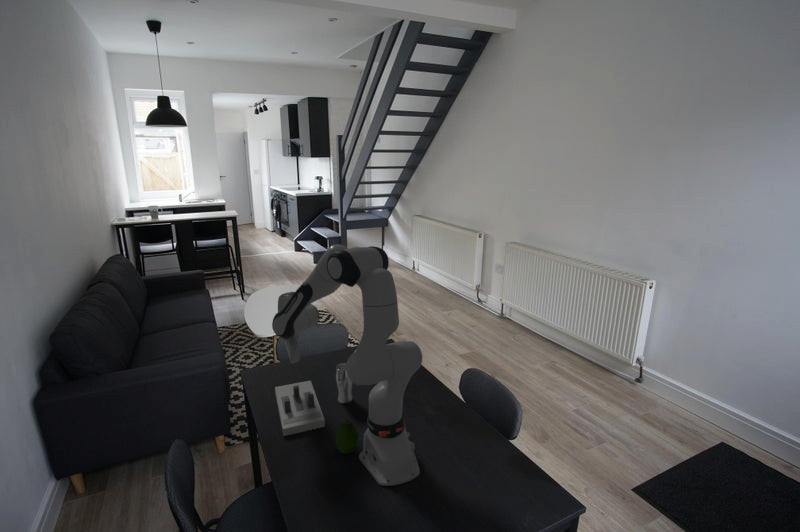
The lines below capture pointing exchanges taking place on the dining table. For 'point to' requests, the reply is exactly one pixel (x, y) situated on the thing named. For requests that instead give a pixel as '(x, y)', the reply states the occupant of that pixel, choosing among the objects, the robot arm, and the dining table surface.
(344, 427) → the avocado
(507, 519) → the dining table surface
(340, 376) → the beer glass
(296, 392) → the breaker handle
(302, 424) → the breaker panel
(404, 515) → the dining table surface
